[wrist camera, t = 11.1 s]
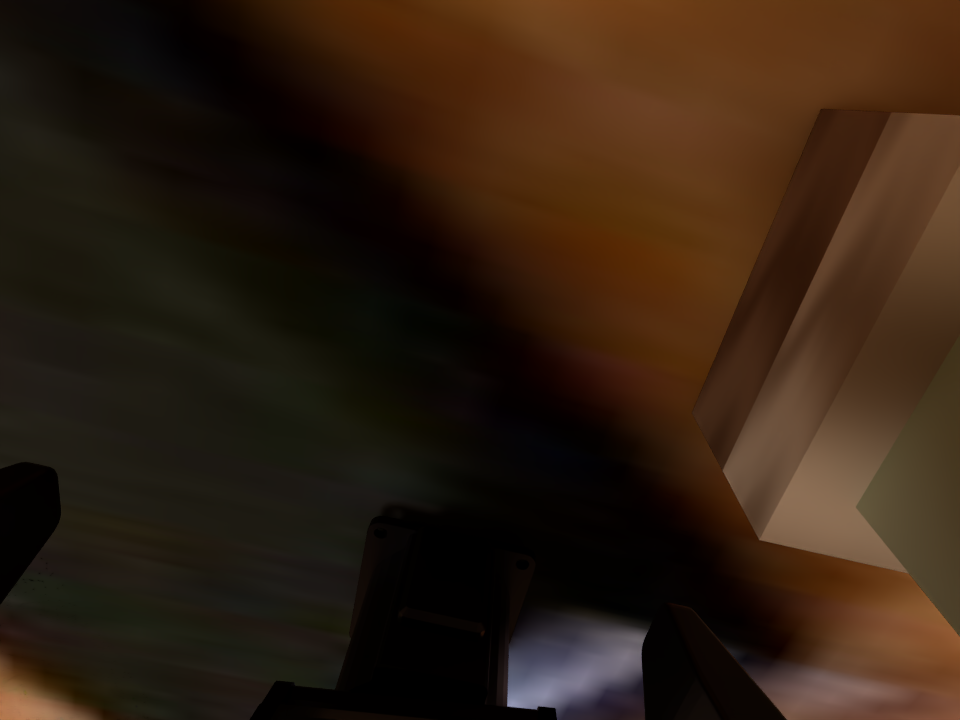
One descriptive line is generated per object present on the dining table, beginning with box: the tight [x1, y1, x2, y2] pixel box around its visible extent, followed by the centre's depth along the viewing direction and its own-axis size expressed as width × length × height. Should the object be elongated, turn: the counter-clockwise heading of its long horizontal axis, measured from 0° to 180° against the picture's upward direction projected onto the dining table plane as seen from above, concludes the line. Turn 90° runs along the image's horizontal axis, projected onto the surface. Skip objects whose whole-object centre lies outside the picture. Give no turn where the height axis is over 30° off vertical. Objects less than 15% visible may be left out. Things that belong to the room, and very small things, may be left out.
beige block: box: [692, 109, 960, 573], centre depth 16 cm, size 10×8×6 cm
